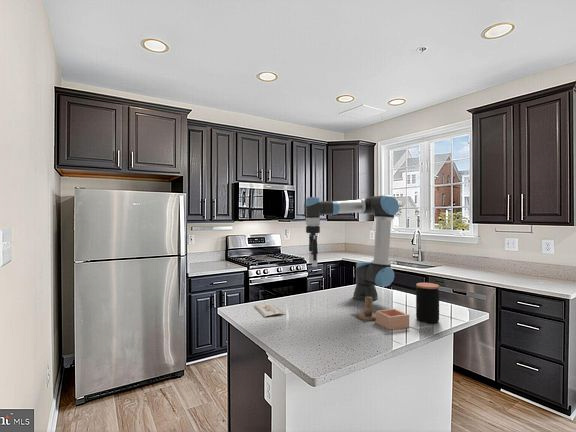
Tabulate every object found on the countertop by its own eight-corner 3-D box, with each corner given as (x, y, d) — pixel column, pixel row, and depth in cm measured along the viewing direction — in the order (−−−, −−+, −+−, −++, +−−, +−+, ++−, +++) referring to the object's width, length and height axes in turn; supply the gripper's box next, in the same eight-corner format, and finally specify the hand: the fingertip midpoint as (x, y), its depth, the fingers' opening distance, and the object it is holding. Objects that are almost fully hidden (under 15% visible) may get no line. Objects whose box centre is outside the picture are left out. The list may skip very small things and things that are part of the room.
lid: (372, 312, 180) (372, 293, 180) (386, 319, 168) (386, 299, 168) (351, 314, 176) (351, 295, 176) (364, 321, 164) (364, 301, 164)
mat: (372, 312, 181) (372, 311, 181) (388, 320, 167) (388, 319, 167) (349, 315, 176) (349, 314, 176) (364, 323, 163) (364, 322, 163)
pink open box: (394, 320, 167) (394, 308, 167) (409, 327, 156) (409, 314, 156) (375, 323, 163) (375, 310, 163) (389, 330, 153) (389, 317, 153)
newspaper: (286, 316, 176) (286, 311, 176) (264, 321, 172) (264, 316, 172) (273, 305, 198) (273, 300, 198) (253, 309, 194) (253, 304, 193)
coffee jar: (421, 316, 174) (421, 281, 174) (442, 320, 167) (442, 284, 167) (412, 320, 167) (412, 284, 167) (433, 325, 159) (434, 288, 159)
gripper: (304, 225, 194) (304, 261, 194) (308, 226, 169) (308, 268, 169) (316, 224, 194) (317, 261, 194) (323, 226, 169) (323, 268, 169)
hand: (313, 264), depth 182 cm, fingers open, 13 cm apart
